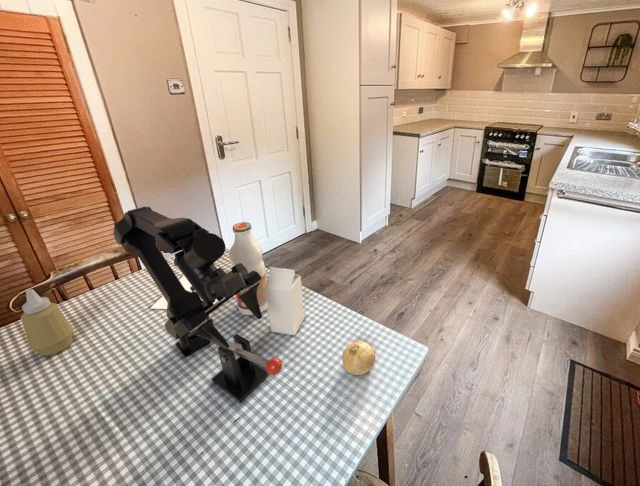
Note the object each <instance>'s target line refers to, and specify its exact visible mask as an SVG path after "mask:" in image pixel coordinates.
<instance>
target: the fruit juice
mask: <svg viewBox="0 0 640 486" xmlns="http://www.w3.org/2000/svg"><path fill="white" fill-rule="evenodd" d="M232 232H233V233H234V241H233V244H232V245H231V247H230V249H229V251H228V252H229V253H228V258H229V261H230V262H231V264H232V266H231V268H232V267H233V266H235V265H236V264H238V263H242V264H243V265H244V266H245V268H246V269H247V271H248V273H250V272H251V271H253V270H254V271H256V272H258V273H259V274H260V275H261V277H262V279H260V280H259V281H258V282H256V284H258V283H260V285H259V286H258V288H257V300H258V304H259V307H260V311H261V313H263V312H264V311H266V310H268V305H267V298H266V291H265V286H266V282H267V279H268V276H267V271H266V266H265V262H264V260H263V253H264V252H263V248H262V246H261V243H259V242H258V241H257V240H256V239H255V238H254V236H253V234H252V224H251V223H250V222H248V221H241V222H237V223H235V224H233V225H232ZM240 295H241V293H237V294H236V295H235V298H236V304H237V309H238V311H239V312H240V314H242V315H245V316H254V315H253V313H252V312H251V311H250V310H249V309H248V307H247V306H246V305H245V304H244V303H243V302H242V300H241V299H240V298H239V296H240Z"/></svg>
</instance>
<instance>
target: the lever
mask: <svg viewBox="0 0 640 486" xmlns="http://www.w3.org/2000/svg"><path fill="white" fill-rule="evenodd" d="M228 345H229V348H227V349H228V350H230V351H231V352H233V353H234V355H235V360H237V359H238V358H239V357H242V358H244V359H247V360H249V361H252V362H253V364H255V365H259V366H261V367H264V368H265V371H266V372H267V373H268V375H269V376H277V375H278V374H279V373H280V372H281V371H282V369H283V362H282V360H281V359H280V358H278V357H272V358H269V359H267V358H265V357H263V356H260V355H257V354H255V353H253V352H252V353H250V352H247V351H245V350H243V348H242V345H241V344H239V343H236V342H234V341H232V342H231V343H230V344H228Z"/></svg>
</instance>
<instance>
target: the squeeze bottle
mask: <svg viewBox="0 0 640 486" xmlns="http://www.w3.org/2000/svg"><path fill="white" fill-rule="evenodd" d="M25 297H26V302H25V303H24V304H23V305H22V306H21V309H22V311H23V313H22V314H21V316H20V320H21V324H22V327H23V330H24V332H25V333H24V334H25V336H26V339H27V342H28V345H29V347H30V349H32V350H33V351H35V352H36V353H38V354H40V355H41V356H45V357H47V356H52V355H55V354H58V353H60V352H62V351H64V350H65V349H67V348H68V347H69V346H70V345H71V344H72V341H73V332H74V331H73V330H74V328H73V327H72V325H71V324H70V322H69V320H68V319H67V318H66V316H65V315H64V313H63V312H62V310H61V308H60V307H59V305H58V304H57V303H54V302H51V300H50V299H49V297H47V296H40V295H39V294H38V293H37V292H36V291H35V290H34V289H33V288H29V289H27V290H25Z"/></svg>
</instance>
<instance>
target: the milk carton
mask: <svg viewBox="0 0 640 486" xmlns="http://www.w3.org/2000/svg"><path fill="white" fill-rule="evenodd" d="M265 291H266V298H267V305H268V307H267V311H268V312H267V313H268V319H269V326H270V332H273V333H276V334H277V333H278V334H284V335H289V336H295V335H296V334H297V331H298V330H299V328H300V327H301V325H302V324H303V321H304V319H305V311H304V310H305V309H304V298H303V287H302V276H301V275H300V274H296V271H295V269H290V268H280V267H272V266H271V267H269V273H268V276H267V282H266V286H265Z"/></svg>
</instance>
